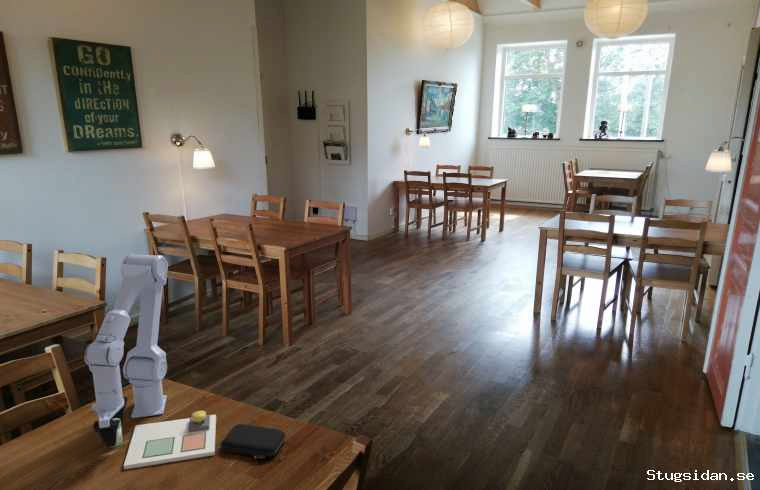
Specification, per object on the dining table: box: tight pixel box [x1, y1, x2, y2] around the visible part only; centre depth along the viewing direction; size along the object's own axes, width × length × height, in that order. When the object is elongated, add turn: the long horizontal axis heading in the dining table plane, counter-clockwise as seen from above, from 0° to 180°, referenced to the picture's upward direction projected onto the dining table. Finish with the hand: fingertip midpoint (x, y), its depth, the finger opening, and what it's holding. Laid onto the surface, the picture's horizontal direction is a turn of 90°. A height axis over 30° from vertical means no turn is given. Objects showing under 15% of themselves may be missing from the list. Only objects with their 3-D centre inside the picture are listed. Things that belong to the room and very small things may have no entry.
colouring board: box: [123, 414, 217, 470], centre depth 125 cm, size 16×20×2 cm
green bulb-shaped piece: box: [111, 418, 124, 448], centre depth 123 cm, size 4×4×6 cm
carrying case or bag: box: [220, 423, 287, 460], centre depth 124 cm, size 11×3×15 cm
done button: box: [191, 410, 207, 423], centre depth 130 cm, size 4×4×2 cm
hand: (114, 436), depth 123 cm, fingers open, 7 cm apart
